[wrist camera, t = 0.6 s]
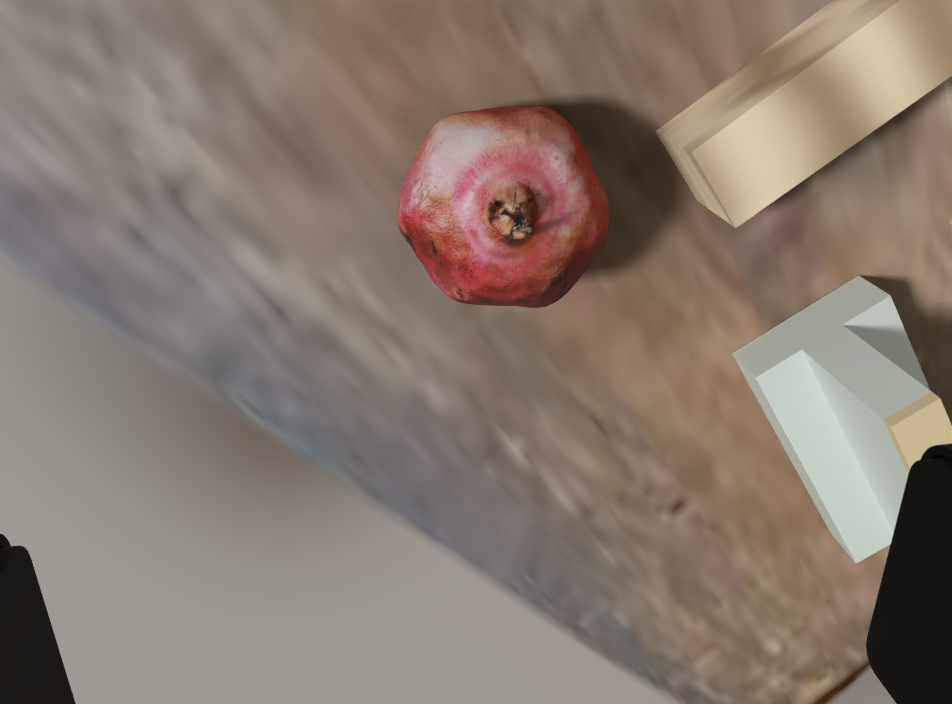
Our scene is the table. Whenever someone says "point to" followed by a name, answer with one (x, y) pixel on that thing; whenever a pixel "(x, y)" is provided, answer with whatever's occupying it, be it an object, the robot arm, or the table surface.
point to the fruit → (504, 206)
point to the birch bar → (808, 100)
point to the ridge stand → (848, 408)
